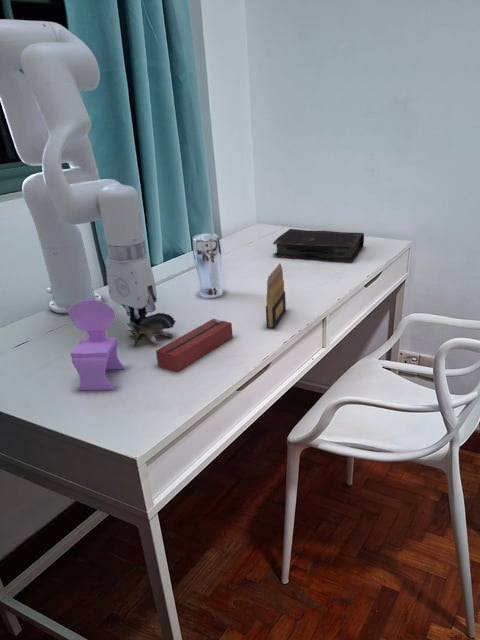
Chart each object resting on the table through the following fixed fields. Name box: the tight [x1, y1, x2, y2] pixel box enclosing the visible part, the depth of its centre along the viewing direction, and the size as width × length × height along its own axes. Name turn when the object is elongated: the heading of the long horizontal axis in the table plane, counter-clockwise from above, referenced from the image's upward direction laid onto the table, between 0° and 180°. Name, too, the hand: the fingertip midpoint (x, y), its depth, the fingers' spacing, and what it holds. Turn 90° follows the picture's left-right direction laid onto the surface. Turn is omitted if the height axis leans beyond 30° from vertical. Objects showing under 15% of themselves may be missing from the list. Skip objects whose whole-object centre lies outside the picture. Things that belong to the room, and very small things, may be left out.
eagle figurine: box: [126, 312, 177, 347], centre depth 115 cm, size 8×7×9 cm
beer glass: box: [191, 232, 224, 299], centre depth 137 cm, size 7×7×15 cm
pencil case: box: [155, 318, 234, 373], centre depth 111 cm, size 5×18×4 cm, turn 149°
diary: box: [272, 228, 365, 263], centre depth 170 cm, size 19×25×5 cm
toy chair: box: [68, 299, 126, 391], centre depth 99 cm, size 8×9×15 cm
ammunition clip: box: [265, 262, 287, 330], centre depth 123 cm, size 11×2×12 cm, turn 166°
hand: (140, 332), depth 119 cm, fingers closed
